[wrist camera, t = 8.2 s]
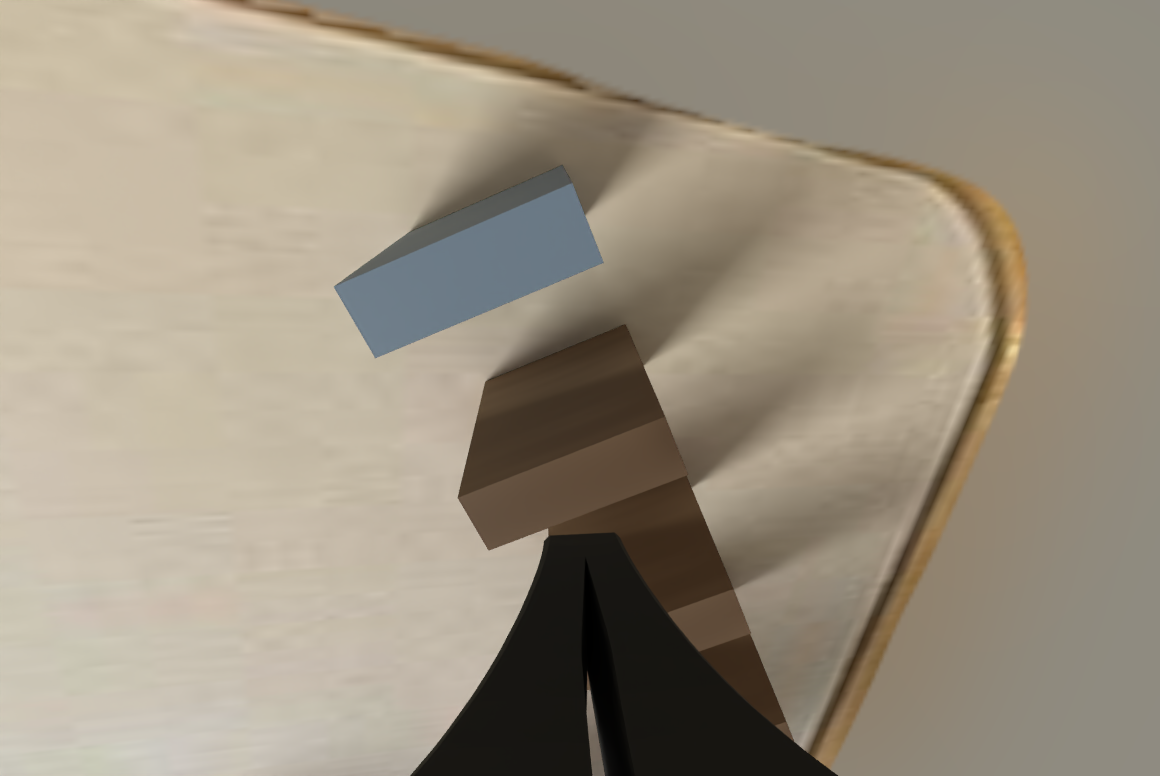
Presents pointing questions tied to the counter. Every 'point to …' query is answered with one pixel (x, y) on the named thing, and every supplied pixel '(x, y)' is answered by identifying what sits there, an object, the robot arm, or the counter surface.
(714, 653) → the domino
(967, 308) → the counter surface
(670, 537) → the domino
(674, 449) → the domino
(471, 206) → the end domino
